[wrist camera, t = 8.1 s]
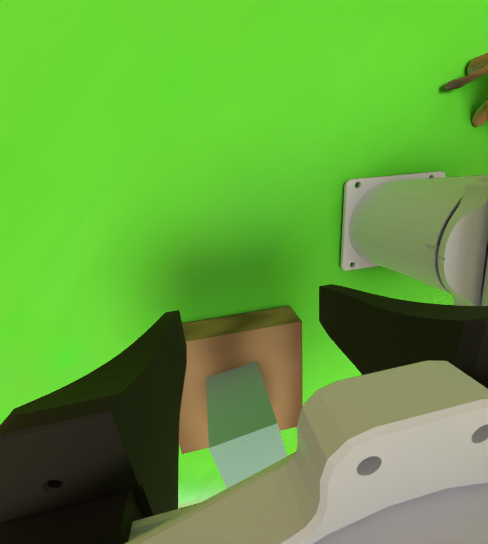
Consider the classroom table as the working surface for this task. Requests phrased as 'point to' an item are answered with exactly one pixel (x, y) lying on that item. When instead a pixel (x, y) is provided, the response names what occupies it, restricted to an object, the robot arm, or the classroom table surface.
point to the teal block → (241, 424)
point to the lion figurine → (474, 71)
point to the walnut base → (237, 352)
